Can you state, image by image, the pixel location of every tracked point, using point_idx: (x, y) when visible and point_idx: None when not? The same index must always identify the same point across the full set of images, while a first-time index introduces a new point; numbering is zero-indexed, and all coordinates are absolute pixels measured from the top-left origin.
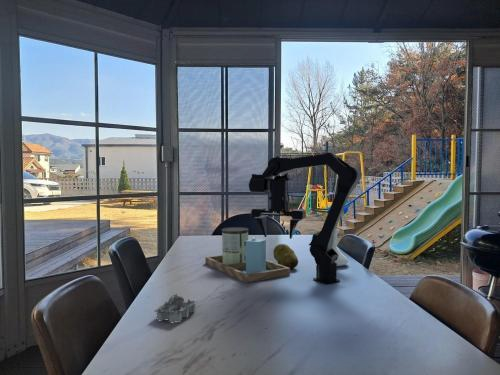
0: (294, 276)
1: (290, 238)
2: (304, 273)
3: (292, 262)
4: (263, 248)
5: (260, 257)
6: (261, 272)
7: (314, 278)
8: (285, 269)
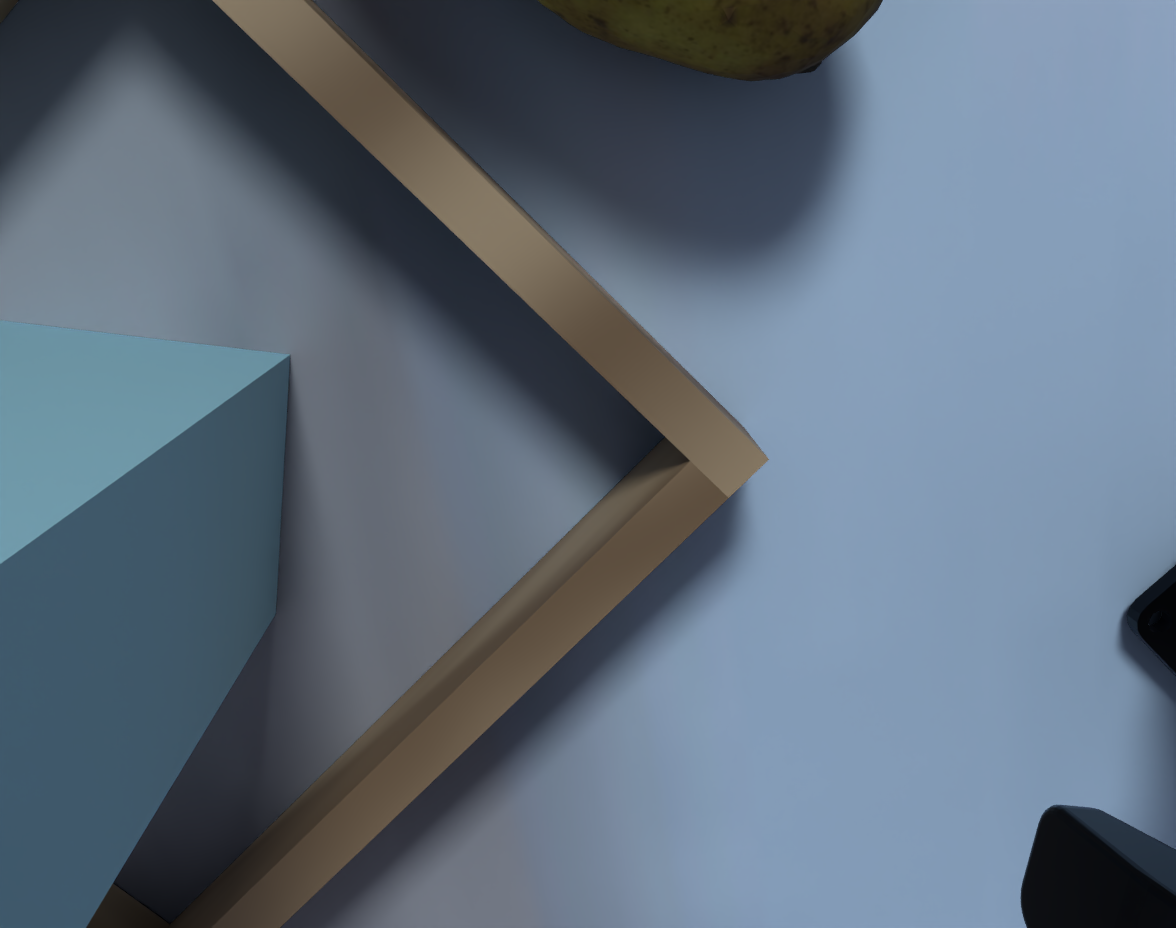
0: (824, 483)
1: (1049, 920)
2: (987, 247)
3: (791, 73)
4: (98, 697)
5: (163, 792)
6: (323, 862)
7: (1156, 633)
8: (688, 531)
